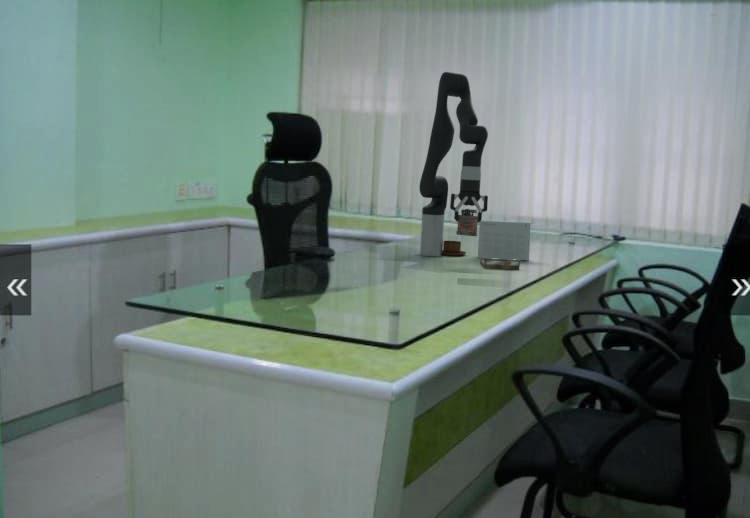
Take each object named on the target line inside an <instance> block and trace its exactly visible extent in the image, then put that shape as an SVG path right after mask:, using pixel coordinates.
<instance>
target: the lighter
mask: <svg viewBox="0 0 750 518" xmlns="http://www.w3.org/2000/svg"><path fill="white" fill-rule="evenodd" d="M460 209H461V211H460V212H461V214H459V215H458V221H457V229H456V230H457V232H456V235H457V236H467V237H469V236H470V237H478V233H477V232H478V223H477V221H478V215H474V214H478V210H477V209H471V208H465V209H462V208H460Z"/></svg>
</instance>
